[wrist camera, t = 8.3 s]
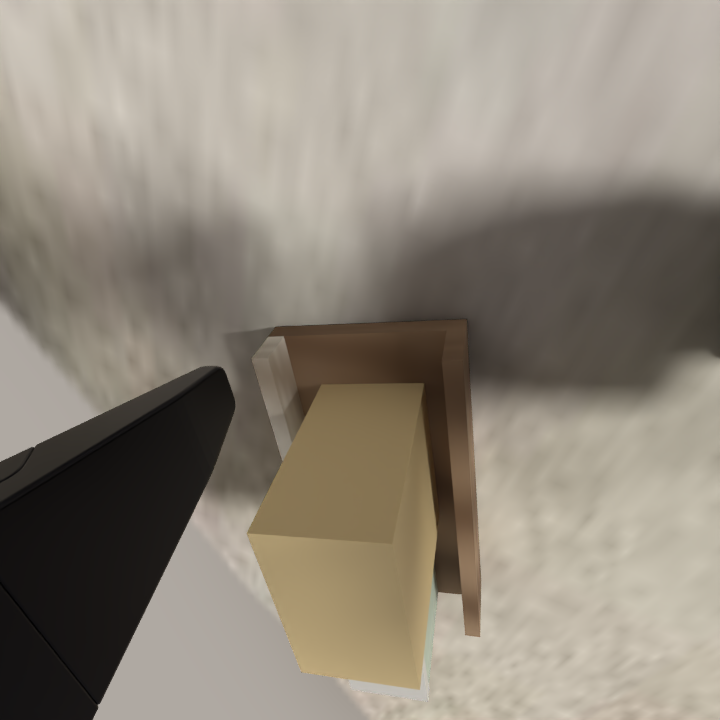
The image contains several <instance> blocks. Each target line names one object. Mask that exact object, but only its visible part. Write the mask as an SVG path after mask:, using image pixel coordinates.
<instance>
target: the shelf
mask: <svg viewBox="0 0 720 720" xmlns="http://www.w3.org/2000/svg"><path fill="white" fill-rule="evenodd" d="M251 360H252V363H253V366H254V370H255V373H256V376H257V379H258V383H259V386H260V389H261V393H262V396H263V399H264V403H265V406H266V409H267V412H268V416H269V419H270V422H271V426H272V429H273V432H274V435H275V439H276V442H277V445H278V449H279V453H280V456H281V460H282V462H283V460H284V458H285V456H286V454H287V452H288V450H289V448H290V446H291V444H292V442H293V440H294V438H295V436H296V434H297V432H298V430H299V428H300V426H301V424H302V422H303V420H304V418H305V416H306V414H307V412H308V410H309V408H310V406H311V404H312V402H313V400H314V398H315V396H316V394H317V392H318V390H319V388H320V386H321V384H393V383H424V384H425V393H426V402H427V410H428V419H429V427H430V436H431V445H432V453H433V462H434V471H435V479H436V488H437V497H438V505H439V523H438V532H437V541H436V550H435V559H434V564H435V572H436V580H437V588H438V592H443V593H453V594H462V601H463V613H464V625H465V635H468V636H476V637H480V613H481V570H480V552H479V534H478V515H477V497H476V479H475V460H474V442H473V424H472V405H471V387H470V369H469V350H468V332H467V319H457V320H433V321H409V322H384V323H360V324H336V325H311V326H287V327H275V328H274V330H273V331H272V332H271V334H270V335H269V336H268V338H267V339H266V340H265V341H264V343H263V344H262V345H261V347H260V348H259V349H258V351H257V352H256V353H255V354H254V356H253V357H252V358H251Z"/></svg>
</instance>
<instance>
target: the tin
mask: <svg viewBox="0 0 720 720" xmlns="http://www.w3.org/2000/svg"><path fill="white" fill-rule="evenodd" d="M437 597H438V588H437V580H436V572H435V564H434V568H433V577H432V586H431V595H430V604H429V613H428V622H427V631H426V640H425V649H424V658H423V667H422V676H421V685H420V690H416V689H409V688H403V687H396V686H389V685H383V684H376V683H370V682H363V681H356V680H350V679H348V681H349V684H350V688H351V690H356V691H363V692H369V693H375V694H381V695H388V696H394V697H400V698H407V699H413V700H419V701H425V702H428V700H429V690H430V689H429V678H430V668H431V658H432V648H433V638H434V627H435V617H436V607H437Z"/></svg>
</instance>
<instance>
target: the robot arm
mask: <svg viewBox="0 0 720 720" xmlns="http://www.w3.org/2000/svg"><path fill="white" fill-rule="evenodd" d="M234 411H235V399H234V396H233V393H232V390H231V387H230V384H229V381H228V378H227V375H226V373H225V371H224V369H223V368H221V367H219V366H204V367H200V368H198V369H196V370H194V371H191V372H189V373H187V374H185V375H183V376H181V377H179V378H177V379H175V380H172V381H170V382H168V383H166V384H164V385H162V386H160V387H158V388H156V389H153V390H151V391H149V392H147V393H145V394H143V395H141V396H139V397H137V398H134V399H132V400H130V401H128V402H126V403H124V404H122V405H120V406H118V407H115V408H113V409H111V410H109V411H107V412H105V413H103V414H101V415H99V416H96V417H94V418H92V419H90V420H88V421H86V422H84V423H82V424H80V425H78V426H75V427H73V428H71V429H69V430H67V431H65V432H63V433H61V434H59V435H56V436H54V437H52V438H50V439H48V440H46V441H44V442H42V443H40V444H37V445H36V446H35V448H34V447H31V448H29V449H27V450H25V451H22V452H20V453H18V454H16V455H14V456H12V457H10V458H8V459H5V460H3V461H1V462H0V720H93V718H94V716H95V713H96V711H97V710H98V704H100V703H101V701H102V698H103V697H104V694H105V692H106V690H107V688H108V686H109V684H110V682H111V680H112V678H113V676H114V674H115V672H116V670H117V668H118V666H119V664H120V661H121V660H122V657H123V655H124V653H125V651H126V649H127V647H128V645H129V643H130V641H131V639H132V637H133V635H134V633H135V631H136V628H137V627H138V624H139V623H140V620H141V618H142V616H143V614H144V612H145V610H146V608H147V606H148V604H149V602H150V600H151V598H152V596H153V593H154V592H155V590H156V587H157V585H158V583H159V581H160V579H161V577H162V575H163V573H164V571H165V569H166V567H167V565H168V563H169V561H170V559H171V557H172V555H173V553H174V550H175V549H176V546H177V544H178V542H179V540H180V538H181V536H182V534H183V532H184V530H185V528H186V526H187V524H188V522H189V520H190V518H191V516H192V514H193V512H194V509H195V507H196V505H197V503H198V501H199V499H200V497H201V495H202V493H203V491H204V489H205V487H206V485H207V483H208V480H209V478H210V476H211V474H212V471H213V469H214V466H215V464H216V461H217V459H218V456H219V453H220V450H221V447H222V445H223V442H224V439H225V436H226V433H227V431H228V428H229V425H230V422H231V420H232V417H233V414H234Z"/></svg>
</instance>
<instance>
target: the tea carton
mask: <svg viewBox="0 0 720 720" xmlns="http://www.w3.org/2000/svg"><path fill="white" fill-rule="evenodd" d="M438 523H439V505H438V497H437V488H436V479H435V471H434V462H433V453H432V445H431V436H430V427H429V419H428V410H427V402H426V393H425V384H424V383H393V384H321V386H320V388H319V390H318V392H317V394H316V396H315V398H314V400H313V402H312V404H311V406H310V408H309V410H308V412H307V414H306V416H305V418H304V420H303V422H302V424H301V426H300V428H299V430H298V432H297V434H296V436H295V438H294V440H293V442H292V444H291V446H290V448H289V450H288V452H287V454H286V456H285V458H284V460H283V462H282V464H281V466H280V468H279V470H278V472H277V474H276V476H275V478H274V480H273V482H272V484H271V486H270V488H269V490H268V492H267V494H266V496H265V498H264V500H263V502H262V504H261V506H260V508H259V510H258V512H257V514H256V516H255V518H254V520H253V522H252V524H251V526H250V528H249V530H248V532H247V535H248V538H249V540H250V543H251V545H252V548H253V550H254V553H255V556H256V558H257V561H258V563H259V566H260V568H261V571H262V573H263V576H264V578H265V581H266V583H267V586H268V589H269V591H270V594H271V596H272V599H273V601H274V604H275V606H276V609H277V611H278V614H279V616H280V619H281V622H282V624H283V627H284V629H285V632H286V634H287V637H288V639H289V642H290V644H291V647H292V650H293V652H294V654H295V657H296V659H297V662H298V665H299V667H300V670H301V672H303V673H310V674H316V675H324V676H330V677H336V678H343V679H350V680H356V681H363V682H370V683H376V684H383V685H389V686H396V687H403V688H409V689H416V690H420V685H421V676H422V667H423V658H424V649H425V640H426V631H427V622H428V613H429V604H430V595H431V586H432V577H433V568H434V559H435V550H436V541H437V532H438Z"/></svg>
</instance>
